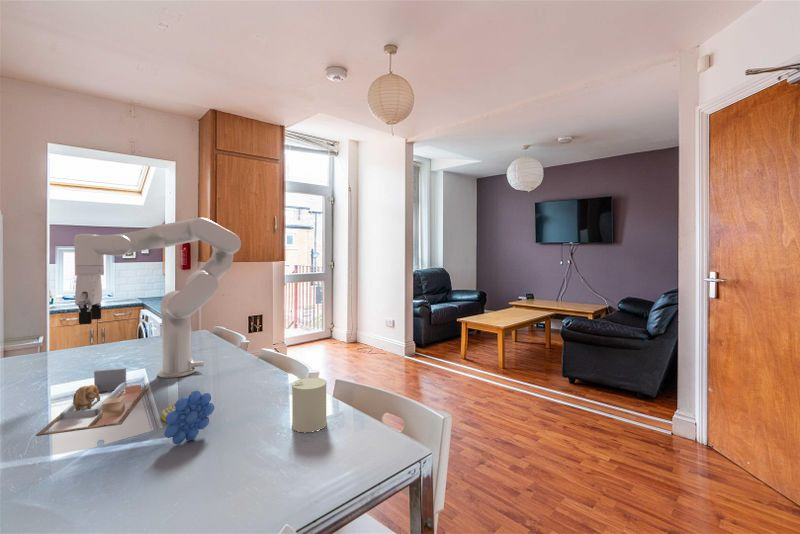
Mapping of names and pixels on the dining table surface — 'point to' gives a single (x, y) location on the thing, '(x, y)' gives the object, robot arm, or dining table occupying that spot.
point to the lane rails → (94, 419)
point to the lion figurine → (85, 397)
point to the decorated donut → (167, 411)
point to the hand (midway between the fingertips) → (90, 321)
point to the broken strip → (130, 396)
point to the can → (309, 404)
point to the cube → (113, 407)
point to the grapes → (189, 417)
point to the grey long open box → (104, 382)
